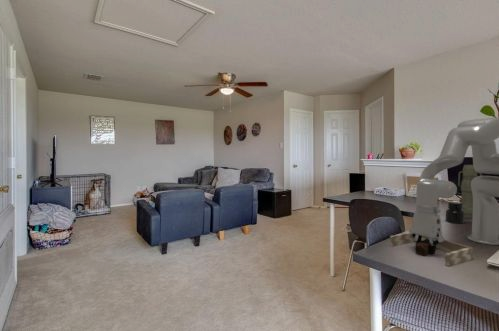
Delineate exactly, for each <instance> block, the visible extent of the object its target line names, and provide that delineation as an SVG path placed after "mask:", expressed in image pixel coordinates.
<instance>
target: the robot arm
mask: <svg viewBox="0 0 499 331" xmlns="http://www.w3.org/2000/svg"><path fill="white" fill-rule="evenodd" d="M498 138H499V117H488V118H476V119H470V120H469V119H468V120H464V121H461V122H459V123H458V125H457V127H454V128H452V129H451V130H449V132H448V134H447V136H446V138H445V142H444V144H443V146H442V149H441V151H440V153H439V156H438V157H437V158H435V159H434V160H433V161H431V162H430V163H429V164H428V165H426V167H425V168H424V169H423V170H422V171H421V173H420V176H419V179H418V181H417V183H416V196H415V200H416V201H415V202H416V203H415V204H416V205H415V211H414V213H413V215H412V216H413V217H412V222H411V227H410V228H409V230H408V232H410V233H411V234H412V236H413V237H414V238H415V241H416V242H415V245H416V244H417V243H418V242H420V241H422V240H421V238H422V236H424V237H428V238H429V241H430V245H429V256H432V255H435V254H436V251H435V250H437V248H436V245H437V244H438V243H440V242H443V241H445V240H446V239H445V238H444V236H443V230H442V227H443V226H442V220H441V216H440V213H441V212H442V211H441V209H439V207H438V205H439V204H438V201H439V198H440V199H450V198H452V197H455V195H456V194H457V193H458V187H457V185H456V184H455V183H454V182H452V181H450V180H443V179H434V178H435V177H436V176H437V175H438V174H439V173H441V172H443V171H445V170H448V169H451V168H453V167H456V166H459V165H461V164H462V163H463V162H464V159H465V157H466V154H467V152H468V148H469V147H471V152H472V164H473V166H474V169H475V171H476V172H478V174H479V173H481V174H485V175H482V176H480V175H478V177H475V178H474V179H473V180H472V181H471V189H472V194H473V215H472V219H471V220H472V221H471V223H472V224H471V234H469V235H467V239H468V240H469V241H472V242H475V243H479V244H484V245H491V246H499V202H498V200H497V199H496V198H499V176H493V175H499V153H498V152H497V145H496V140H497V139H498ZM486 174H487V175H486ZM495 197H496V198H495ZM436 238H439V239H438V240H436Z"/></svg>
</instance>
